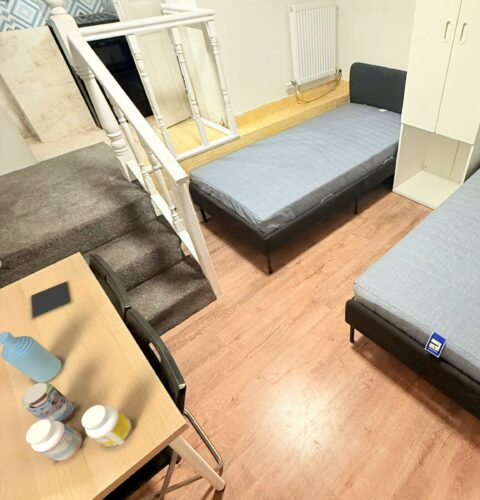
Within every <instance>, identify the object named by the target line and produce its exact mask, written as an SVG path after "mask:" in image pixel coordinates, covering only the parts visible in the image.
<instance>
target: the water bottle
mask: <svg viewBox="0 0 480 500" xmlns="http://www.w3.org/2000/svg"><path fill="white" fill-rule="evenodd" d="M0 345H2V346H3V347H2V351H1V357H2V359H3V360H4V362H6V363H8V364H10V365H11V366H12V367H14V368H15V369H17V370H18V371H20V372H21V373H23V374H24V375H26V377H28V378H30V379H32V381H34V382H36V383H46V382H48V381H50V380H51V379H53V378H55V377H56V376H57V375H58V373H59V372H60V371H61V369H62V364H63V363H62V361H61V360H60V359H59V358H58V357H57V356H56V355H54V353H52V352H51V351H49V350H48V349H47V348H46V347H45V346H43V345H42V344H41V343H39V342H38V341H37V340H36V339H35V338H34V337H32V336H29V335H22V336H21V335H20V336H14V335H13V334H12V333H11V332H9V331H3V332H0Z"/></svg>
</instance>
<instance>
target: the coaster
mask: <svg viewBox="0 0 480 500" xmlns="http://www.w3.org/2000/svg"><path fill="white" fill-rule="evenodd" d="M69 303H70V297H69V291H68V285H67V282H66V281H64V282H62V283H59V284H57V285H54V286H52V287H49V288H47V289H44V290H42V291H39V292H37V293H34V294H32V295H31V310H32V317H33V318H36V317H38V316H40V315H43V314H45V313H48V312H50V311H52V310H55V309H57V308H60V307H62V306H64V305H66V304H69Z"/></svg>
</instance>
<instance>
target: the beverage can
mask: <svg viewBox="0 0 480 500" xmlns="http://www.w3.org/2000/svg"><path fill="white" fill-rule="evenodd" d="M21 401H22V407H23V408H24V409H25V410H26V411H28V412H29V413H31V414H32V415H33V416H34V417H36V418H37V419H38V421H40V420H43V419H47V420H49V421H59V422H61V423H63V424H65V425H67V424H68V423H69V422H70V421H71V420H72V419H73V417H74V415H76V412H77V411H76V409H77V408H76V406H75V405H74V404H73V403H72V402H71V401H70V400H69V399H68V398H67V397H66V396H65V395H64V394H63V393H62V392H61V391H60V390H58V388H56V387H55V386H54V385H53V384H51V383H46V382H42V383H39V382H37V383H35V384H33V385H32V386H31V387H29V388H28V389H27V390H26V391H25V392H24V393H23V395H22V397H21Z"/></svg>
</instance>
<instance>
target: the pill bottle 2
mask: <svg viewBox="0 0 480 500" xmlns="http://www.w3.org/2000/svg"><path fill="white" fill-rule="evenodd" d="M81 424H82V426H83V428H84V430H85V431H84V432H85V433H86V435H87V436H88V437H89V438H91V439H93V440H94V441H96V442H98V443H99V444H102V445H103V446H104V447H107V448H111V449H113V448H117V447H119V446H121V445H123V444H125V442H127V440H128V439H129V437H130V436H131V433H132V430H133V423H132V422H131V420H130V419H129V418H128V417H126V416H125V415H124V414H122V413H121V412H120V411H119V410H117V409H116V408H115V407H113V406H110V405H109V406H108V405H106V406H103V405H101V404H95V405H93V406H91V407H89V408H88V409H87V410H86V411H85V412H84V414H83V415H82V418H81Z"/></svg>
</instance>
